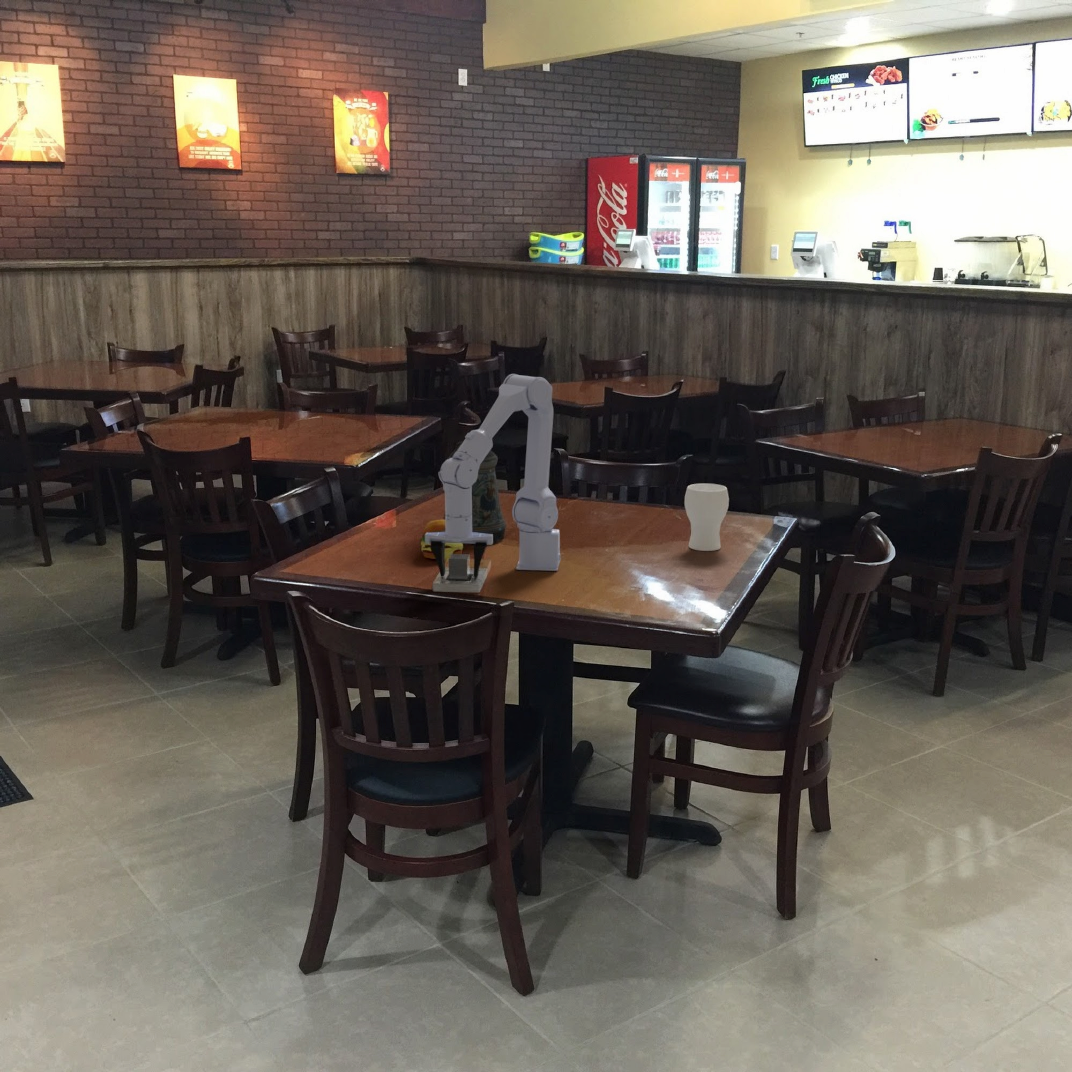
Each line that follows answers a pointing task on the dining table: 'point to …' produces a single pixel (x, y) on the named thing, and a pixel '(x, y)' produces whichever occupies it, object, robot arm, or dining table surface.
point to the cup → (706, 514)
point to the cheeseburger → (449, 547)
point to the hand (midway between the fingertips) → (459, 575)
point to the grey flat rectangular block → (463, 586)
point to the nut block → (459, 567)
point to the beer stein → (486, 500)
